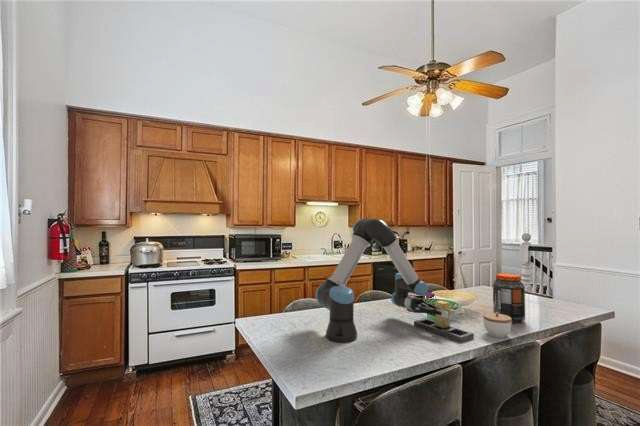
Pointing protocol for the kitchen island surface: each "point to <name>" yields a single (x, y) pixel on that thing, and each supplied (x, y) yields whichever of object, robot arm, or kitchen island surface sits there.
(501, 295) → the supplement tub
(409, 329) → the kitchen island surface
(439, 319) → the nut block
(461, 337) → the dark grey slotted tray
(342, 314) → the robot arm
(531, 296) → the kitchen island surface
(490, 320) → the lidded bowl
